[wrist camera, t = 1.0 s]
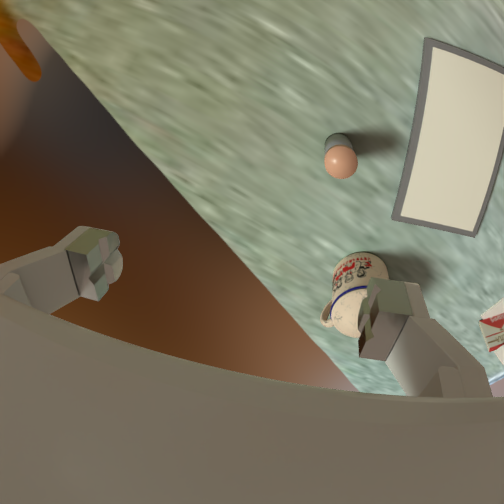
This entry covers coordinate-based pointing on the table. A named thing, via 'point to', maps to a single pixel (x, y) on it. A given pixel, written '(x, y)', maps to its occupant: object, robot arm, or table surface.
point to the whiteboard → (452, 141)
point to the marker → (340, 156)
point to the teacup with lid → (351, 291)
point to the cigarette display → (494, 329)
